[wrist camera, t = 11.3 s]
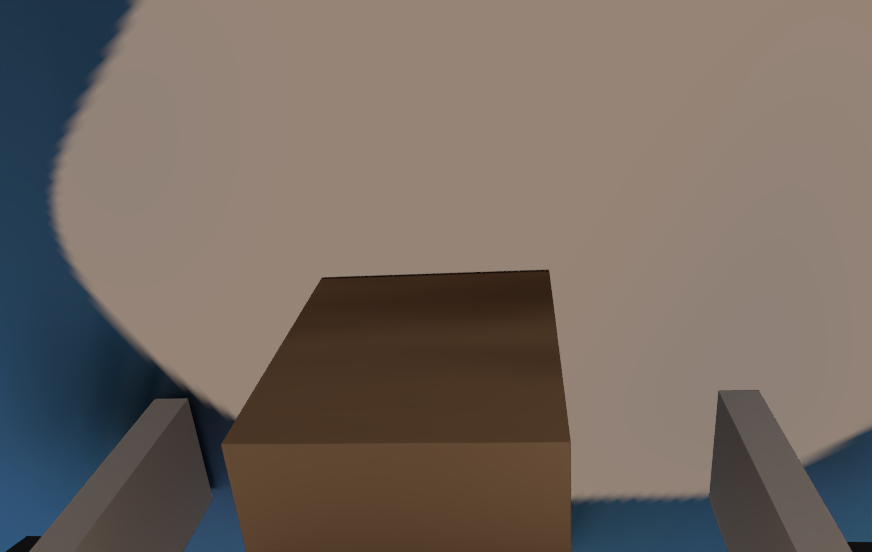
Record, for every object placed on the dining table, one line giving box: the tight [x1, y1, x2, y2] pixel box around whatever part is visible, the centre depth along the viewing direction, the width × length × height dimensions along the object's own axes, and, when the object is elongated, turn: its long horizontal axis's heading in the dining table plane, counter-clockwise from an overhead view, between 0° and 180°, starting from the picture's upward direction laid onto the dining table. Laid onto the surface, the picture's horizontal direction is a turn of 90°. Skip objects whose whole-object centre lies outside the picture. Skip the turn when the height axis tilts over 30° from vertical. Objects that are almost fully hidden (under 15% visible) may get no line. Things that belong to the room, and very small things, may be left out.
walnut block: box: [221, 270, 571, 552], centre depth 13 cm, size 7×4×6 cm, turn 5°
